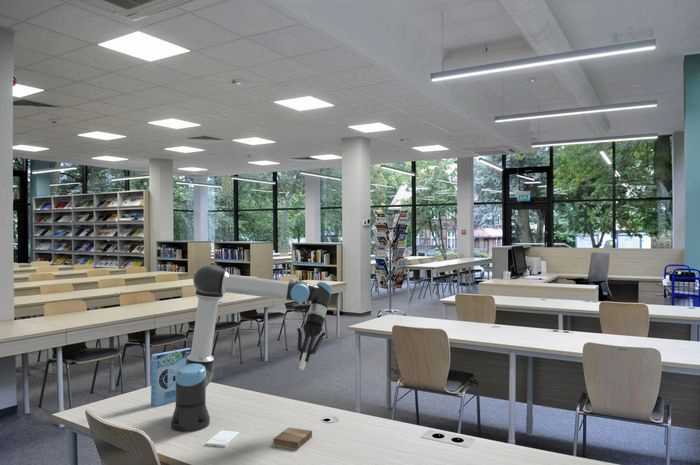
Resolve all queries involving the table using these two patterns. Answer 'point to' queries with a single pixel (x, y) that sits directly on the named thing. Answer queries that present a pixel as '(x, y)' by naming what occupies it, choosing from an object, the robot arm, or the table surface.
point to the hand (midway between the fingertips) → (301, 368)
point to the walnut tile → (292, 438)
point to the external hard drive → (222, 438)
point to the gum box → (166, 375)
